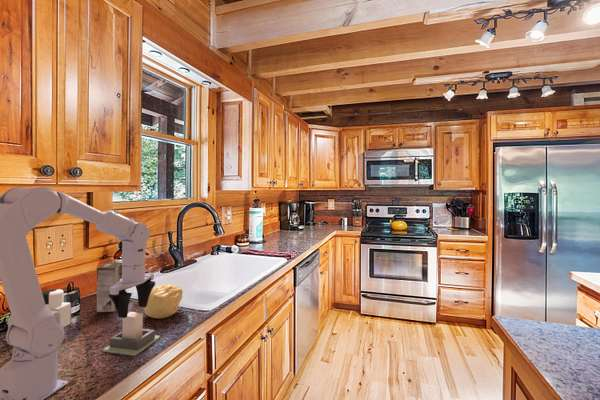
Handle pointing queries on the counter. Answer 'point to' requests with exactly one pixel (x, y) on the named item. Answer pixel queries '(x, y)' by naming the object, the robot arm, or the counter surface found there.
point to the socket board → (131, 343)
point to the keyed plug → (132, 325)
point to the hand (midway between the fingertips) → (133, 311)
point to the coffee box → (107, 285)
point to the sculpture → (163, 301)
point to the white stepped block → (58, 304)
